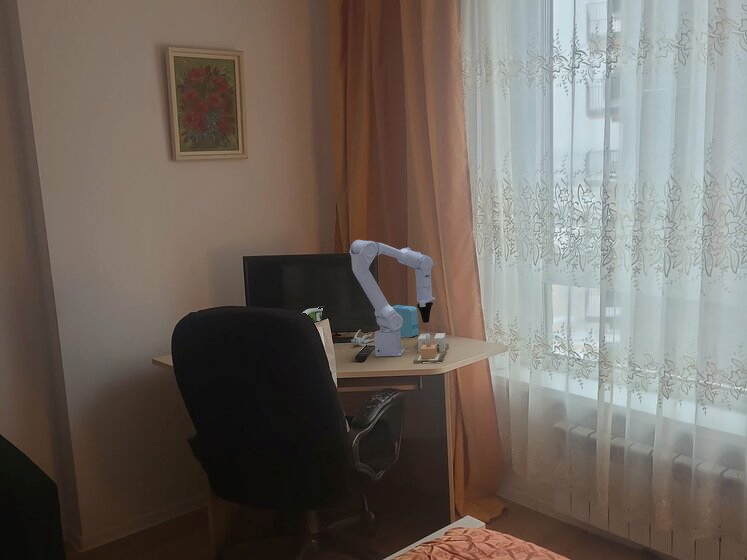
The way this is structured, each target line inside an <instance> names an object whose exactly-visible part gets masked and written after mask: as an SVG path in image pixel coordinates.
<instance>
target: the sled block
mask: <svg viewBox="0 0 747 560" xmlns="http://www.w3.org/2000/svg"><path fill="white" fill-rule="evenodd" d="M425 334H426V342H425V343H426V345H422V347H421V349H420V350H421V359H427V358H436V356H437V344H438V343H433V344H434V345H431V344H432V342H431V334H430V333H425Z"/></svg>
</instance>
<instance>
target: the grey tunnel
mask: <svg viewBox="0 0 747 560" xmlns="http://www.w3.org/2000/svg"><path fill="white" fill-rule="evenodd" d="M426 334H427V333H420V334H419V336H418V337H417V346H418V349H417V350H418V351H419V353H421V350H420V349H421V347H422V345H426ZM433 341H434V342H435V343H436V342H438V344H439V351H440V352H444V351H445V349H446V344H447V338H446V332H439V333H438V332H437V333H435V335H434V338H433ZM418 351H417V352H418Z"/></svg>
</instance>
